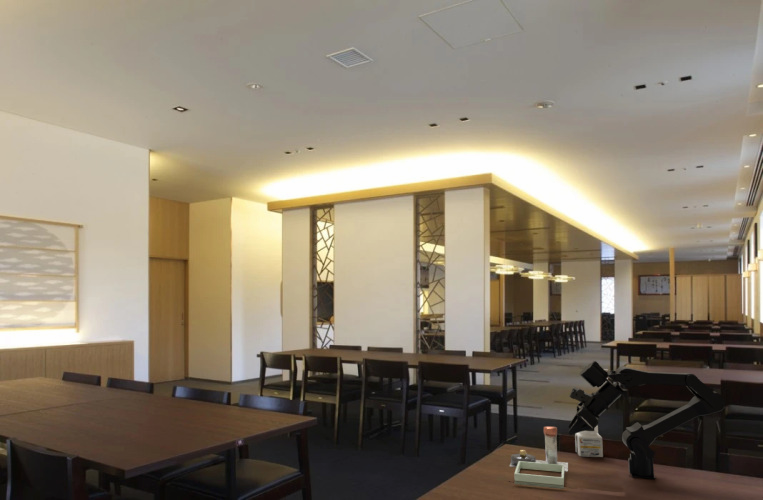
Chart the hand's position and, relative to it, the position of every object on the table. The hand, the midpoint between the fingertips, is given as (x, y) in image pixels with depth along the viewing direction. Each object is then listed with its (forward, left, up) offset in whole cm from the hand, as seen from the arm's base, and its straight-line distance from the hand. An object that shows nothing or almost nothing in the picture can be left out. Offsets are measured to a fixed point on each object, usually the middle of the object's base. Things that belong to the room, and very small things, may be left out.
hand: (569, 430), depth 175 cm
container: (-6, -19, -13) cm, 24 cm away
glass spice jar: (+6, 0, -11) cm, 13 cm away
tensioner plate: (+10, 0, -12) cm, 16 cm away
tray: (+9, +12, -12) cm, 20 cm away
